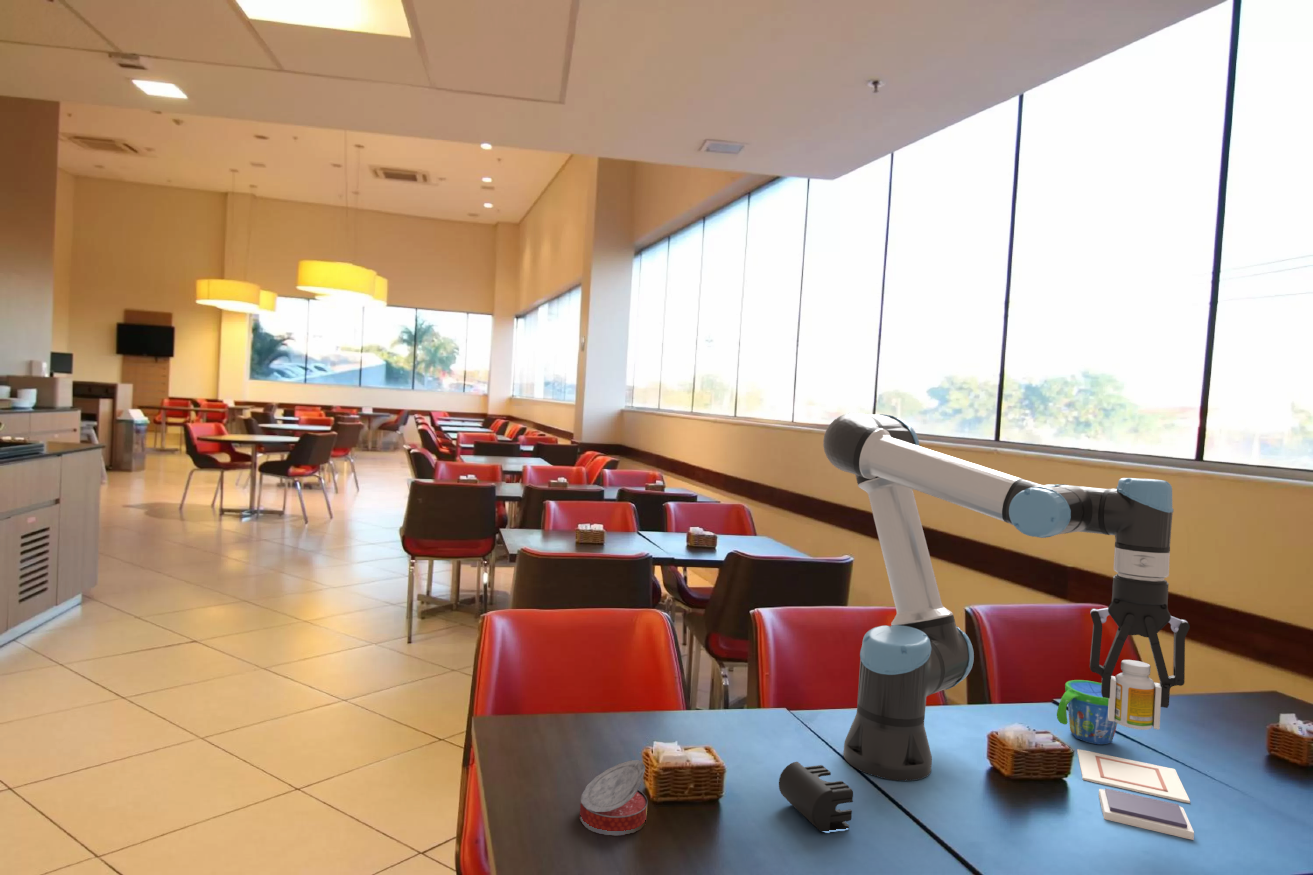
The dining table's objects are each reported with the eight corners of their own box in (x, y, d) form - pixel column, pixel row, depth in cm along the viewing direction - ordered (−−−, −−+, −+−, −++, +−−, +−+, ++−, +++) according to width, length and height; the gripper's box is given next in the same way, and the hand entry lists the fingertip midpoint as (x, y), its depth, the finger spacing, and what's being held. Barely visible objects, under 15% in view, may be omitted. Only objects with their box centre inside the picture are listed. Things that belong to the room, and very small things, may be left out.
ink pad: (1104, 818, 127) (1105, 807, 127) (1098, 795, 136) (1099, 784, 136) (1193, 839, 123) (1194, 828, 123) (1182, 814, 131) (1183, 803, 131)
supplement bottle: (1159, 727, 126) (1163, 665, 126) (1140, 732, 123) (1144, 669, 123) (1125, 715, 131) (1128, 656, 131) (1106, 720, 128) (1109, 660, 128)
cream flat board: (1082, 779, 142) (1083, 776, 142) (1077, 750, 154) (1077, 748, 154) (1189, 803, 135) (1190, 800, 135) (1174, 771, 148) (1175, 768, 148)
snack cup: (1073, 749, 155) (1077, 697, 154) (1038, 727, 165) (1043, 678, 165) (1145, 749, 157) (1149, 698, 157) (1106, 727, 168) (1111, 679, 167)
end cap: (776, 805, 125) (779, 762, 125) (815, 799, 128) (818, 758, 127) (810, 838, 116) (814, 792, 116) (852, 832, 118) (855, 787, 118)
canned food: (631, 867, 114) (629, 823, 109) (568, 841, 117) (563, 798, 112) (661, 801, 123) (661, 757, 118) (602, 779, 126) (599, 736, 121)
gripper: (1075, 572, 128) (1067, 717, 128) (1215, 587, 119) (1206, 742, 120) (1074, 566, 134) (1067, 704, 135) (1206, 579, 126) (1198, 726, 126)
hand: (1133, 722), depth 127 cm, fingers closed on supplement bottle, 5 cm apart
